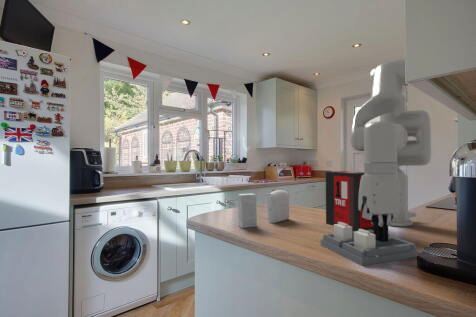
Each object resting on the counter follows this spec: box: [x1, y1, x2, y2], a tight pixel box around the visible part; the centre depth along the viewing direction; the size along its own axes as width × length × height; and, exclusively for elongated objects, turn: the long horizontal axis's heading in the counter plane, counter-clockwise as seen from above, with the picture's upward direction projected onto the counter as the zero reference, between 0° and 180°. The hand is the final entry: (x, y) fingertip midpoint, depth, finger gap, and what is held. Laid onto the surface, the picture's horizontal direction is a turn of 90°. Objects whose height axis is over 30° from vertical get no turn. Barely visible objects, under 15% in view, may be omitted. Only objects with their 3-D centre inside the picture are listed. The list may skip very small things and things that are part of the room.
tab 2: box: [354, 229, 375, 251], centre depth 67 cm, size 3×4×5 cm
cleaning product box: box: [325, 170, 374, 231], centre depth 96 cm, size 16×9×20 cm, turn 20°
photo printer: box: [267, 189, 290, 224], centre depth 107 cm, size 10×4×12 cm, turn 133°
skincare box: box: [237, 192, 258, 229], centre depth 98 cm, size 6×4×12 cm
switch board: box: [320, 230, 420, 266], centre depth 72 cm, size 18×16×3 cm
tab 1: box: [333, 222, 352, 241], centre depth 74 cm, size 3×4×5 cm
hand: (380, 240), depth 68 cm, fingers closed
